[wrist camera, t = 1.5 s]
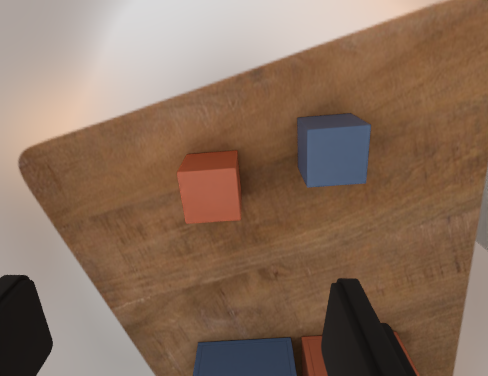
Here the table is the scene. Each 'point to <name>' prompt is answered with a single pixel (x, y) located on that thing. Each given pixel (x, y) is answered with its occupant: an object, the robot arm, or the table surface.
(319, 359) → the terracotta bin
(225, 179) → the terracotta block
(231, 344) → the blue bin
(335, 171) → the blue block
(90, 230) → the table surface
